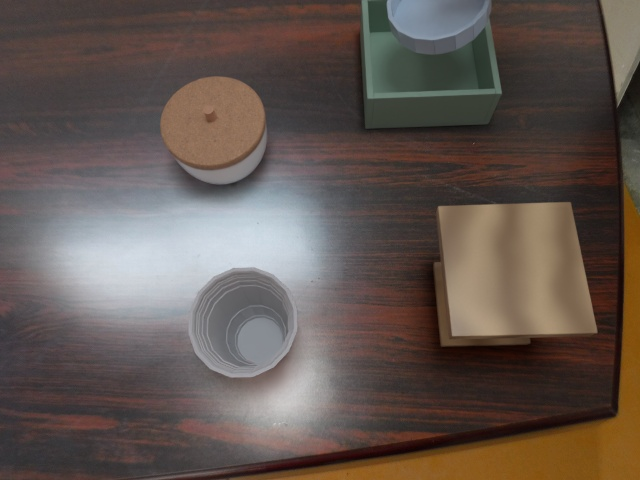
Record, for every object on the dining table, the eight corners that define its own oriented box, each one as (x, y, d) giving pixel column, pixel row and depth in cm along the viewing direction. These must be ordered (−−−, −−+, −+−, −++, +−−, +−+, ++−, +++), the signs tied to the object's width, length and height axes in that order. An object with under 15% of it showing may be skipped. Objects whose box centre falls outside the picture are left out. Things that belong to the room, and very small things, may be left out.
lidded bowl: (177, 201, 70) (148, 159, 60) (184, 119, 75) (159, 66, 64) (273, 198, 70) (261, 155, 59) (274, 116, 74) (263, 62, 64)
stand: (525, 250, 66) (570, 201, 53) (543, 357, 61) (598, 333, 48) (419, 253, 66) (437, 205, 53) (428, 360, 61) (451, 336, 48)
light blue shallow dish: (482, -32, 66) (482, -53, 63) (498, 43, 61) (498, 25, 59) (387, -8, 69) (383, -27, 66) (395, 66, 64) (391, 49, 61)
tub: (473, 27, 78) (484, -10, 72) (488, 124, 72) (502, 93, 66) (359, 32, 79) (361, -4, 73) (365, 129, 73) (367, 98, 67)
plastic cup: (203, 380, 62) (172, 366, 50) (226, 291, 65) (202, 258, 54) (296, 397, 60) (285, 386, 49) (313, 305, 64) (307, 275, 53)
